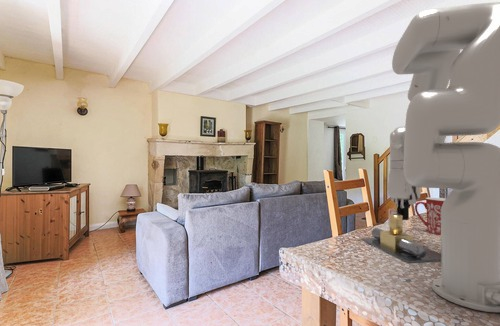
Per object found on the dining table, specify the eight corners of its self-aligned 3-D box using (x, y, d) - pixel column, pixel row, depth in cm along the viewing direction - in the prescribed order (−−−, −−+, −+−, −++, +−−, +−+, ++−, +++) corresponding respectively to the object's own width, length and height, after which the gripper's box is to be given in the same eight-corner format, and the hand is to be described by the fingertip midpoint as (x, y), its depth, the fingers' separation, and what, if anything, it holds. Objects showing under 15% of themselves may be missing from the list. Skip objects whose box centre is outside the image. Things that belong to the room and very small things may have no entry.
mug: (453, 232, 104) (453, 198, 104) (453, 237, 97) (453, 201, 97) (416, 227, 112) (416, 196, 112) (413, 231, 105) (413, 198, 105)
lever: (403, 234, 81) (403, 216, 81) (390, 233, 82) (390, 215, 82) (397, 225, 94) (397, 208, 94) (385, 224, 95) (385, 208, 95)
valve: (452, 260, 74) (452, 242, 74) (407, 263, 72) (407, 244, 72) (396, 238, 95) (396, 224, 96) (361, 240, 93) (361, 225, 93)
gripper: (430, 165, 83) (430, 223, 83) (397, 166, 98) (397, 215, 98) (408, 165, 82) (409, 224, 82) (378, 166, 97) (379, 215, 97)
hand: (402, 219), depth 90 cm, fingers closed
